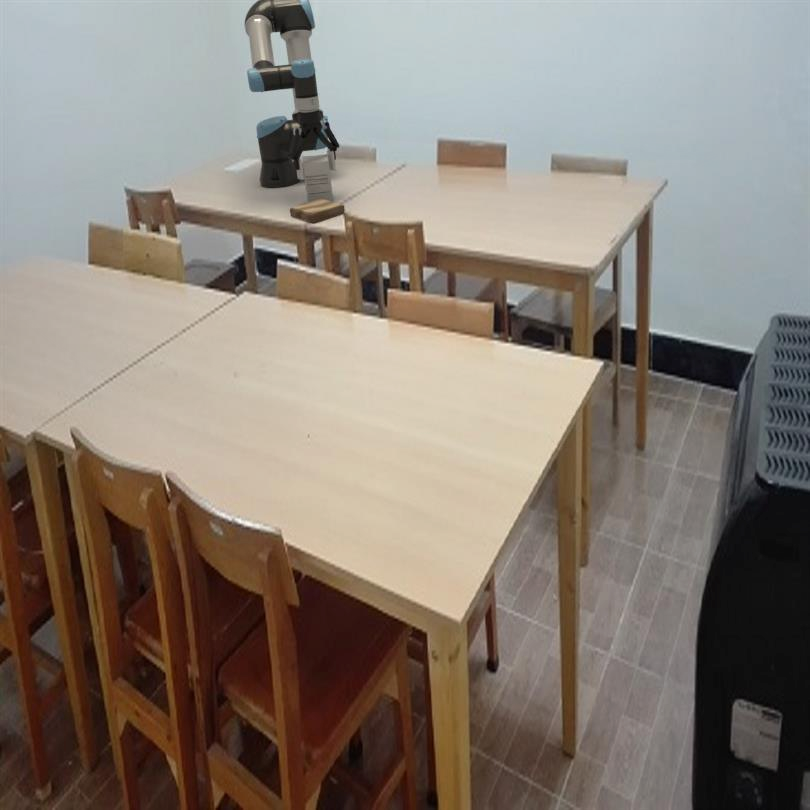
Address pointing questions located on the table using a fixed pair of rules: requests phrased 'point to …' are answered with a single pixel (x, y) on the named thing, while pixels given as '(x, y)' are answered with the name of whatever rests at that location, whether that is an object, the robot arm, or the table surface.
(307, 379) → the table surface
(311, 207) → the walnut base
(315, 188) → the supplement box
